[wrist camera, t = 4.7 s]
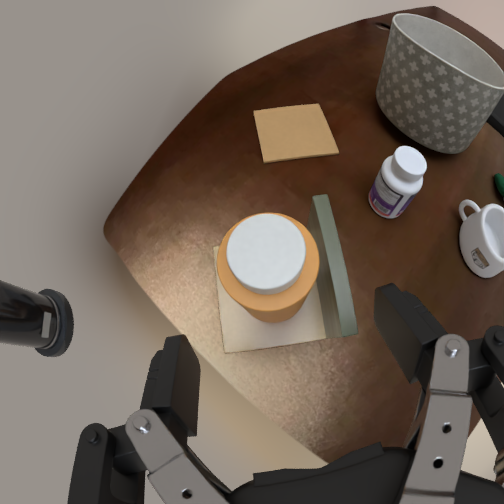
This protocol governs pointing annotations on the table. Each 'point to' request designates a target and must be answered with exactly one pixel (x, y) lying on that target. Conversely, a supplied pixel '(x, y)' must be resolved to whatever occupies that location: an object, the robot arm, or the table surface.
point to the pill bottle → (397, 182)
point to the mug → (483, 238)
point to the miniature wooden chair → (314, 307)
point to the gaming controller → (500, 183)
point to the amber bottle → (268, 265)
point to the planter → (437, 84)
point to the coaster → (294, 133)
